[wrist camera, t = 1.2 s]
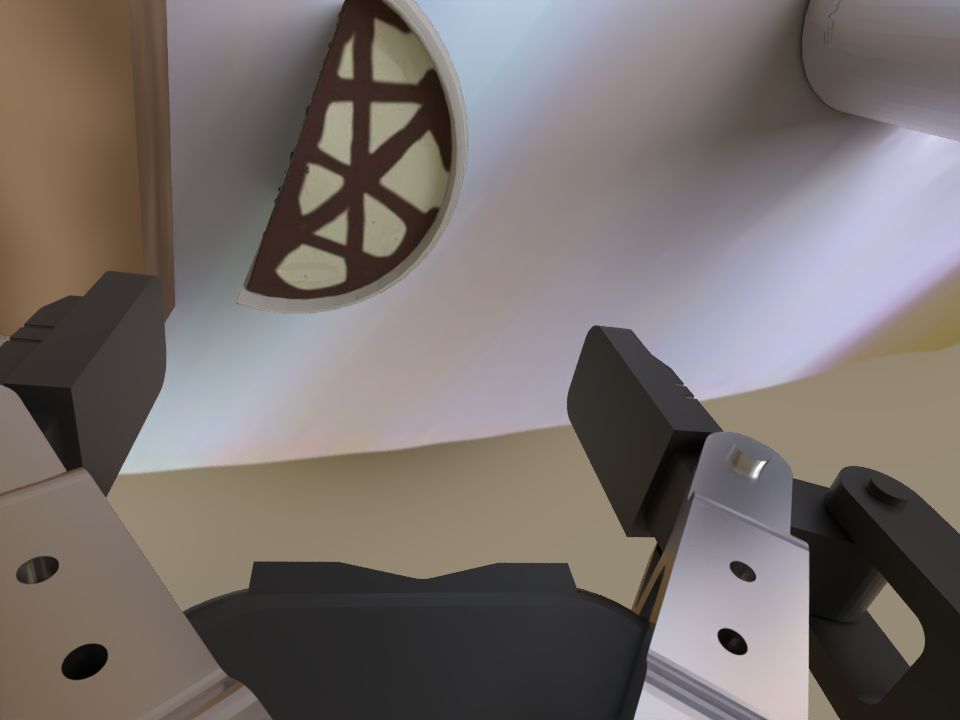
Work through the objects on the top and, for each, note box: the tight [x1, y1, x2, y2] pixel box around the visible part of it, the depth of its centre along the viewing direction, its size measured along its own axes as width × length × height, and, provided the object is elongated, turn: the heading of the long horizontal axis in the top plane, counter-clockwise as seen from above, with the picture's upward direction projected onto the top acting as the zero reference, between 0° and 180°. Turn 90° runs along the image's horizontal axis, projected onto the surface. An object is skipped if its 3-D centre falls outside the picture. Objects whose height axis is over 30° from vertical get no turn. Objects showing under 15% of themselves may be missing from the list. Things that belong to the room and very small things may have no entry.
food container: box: [236, 0, 468, 313], centre depth 24 cm, size 12×6×10 cm, turn 153°
